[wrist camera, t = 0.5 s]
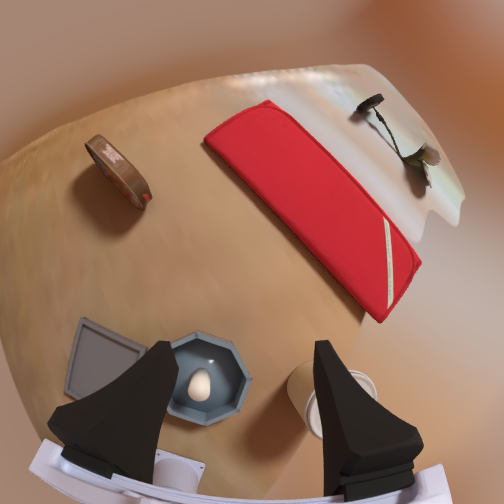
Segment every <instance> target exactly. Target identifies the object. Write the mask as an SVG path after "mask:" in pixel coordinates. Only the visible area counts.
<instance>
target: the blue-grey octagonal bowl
mask: <svg viewBox="0 0 504 504" xmlns="http://www.w3.org/2000/svg"><path fill="white" fill-rule="evenodd" d="M170 344H171V347H172V350H173V353H174V356H175V358H176V361H177V364H178V367H179V372H178V377H177V381H176V385H175V388H174V391H173V394H172V397H171V399H170V402H169V405H168V407H167V411H168V413H169V414H170V415H173V416H176V417H179V418H182V419H185V420H188V421H191V422H194V423H197V424H200V425H204V426H208V425H210V424H213V423H215V422H217V421H220V420H222V419H225V418H227V417H229V416H232V415H234V414H236V413H238V412H240V410H241V407H242V404H243V402H244V399H245V396H246V394H247V391H248V388H249V386H250V383H251V380H252V377H251V376H250V374H249V372H248V371H247V369H246V367H245V365H244V363H243V361H242V360H241V358H240V356H239V354H238V352H237V350H236V348H235V345H234V343H233V342H231V341H228V340H225V339H222V338H219V337H217V336H214V335H211V334H208V333H205V332H202V331H200V330H197V331H195V332H193V333H190V334H188V335H186V336H184V337H182V338H179V339H177V340H175V341H173V342H170ZM197 368H206V369H207V370H208V371H209V372H210V375H211V379H210V395H209V397H208V398H207V399H206V400H204V401H195V400H193V399H192V398H191V397H190V396H189V394H188V388H189V385H190V382H191V378H192V375H193V372H194V371H195V370H196V369H197Z"/></svg>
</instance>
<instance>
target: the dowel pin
mask: <svg viewBox="0 0 504 504" xmlns="http://www.w3.org/2000/svg"><path fill="white" fill-rule="evenodd" d="M210 379H211V375H210V372H209V371H208V370H207V369H206V368H197V369H196V370H195V371H194V372H193V375H192V378H191V382H190V385H189V388H188V394H189V396H190V397H191V398H192V399H193V400H195V401H204V400H206V399H207V398H208V397H209V395H210Z"/></svg>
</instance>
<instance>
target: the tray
mask: <svg viewBox="0 0 504 504" xmlns="http://www.w3.org/2000/svg"><path fill="white" fill-rule="evenodd" d="M147 349H148V347H146V346H144V345H141V344H139V343H137V342H134V341H132V340H130V339H128V338H126V337H123V336H121V335H119V334H117V333H115V332H113V331H111V330H109V329H107V328H105V327H103V326H101V325H99V324H97V323H95V322H93V321H91V320H89V319H87V318H85V317H83V318H80V320H79V324H78V328H77V332H76V335H75V339H74V343H73V348H72V352H71V356H70V361H69V366H68V371H67V376H66V381H65V387H64V392H66V393H67V394H69V395H70V396H72V397H74V398H76V399H77V400H79V399H82V398H84V397H86V396H88V395H90V394H92V393H94V392H96V391H98V390H99V389H101V388H103V387H105V386H106V385H108V384H109V383H111V382H112V381H113V380H115V379H116V378H118V377H119V376H120V375H121V374H123V373H124V372H125V371H126V370H127V369H129V368H130V367H131V366H132V365H133V364H134V363H136V362H137V361H138V360H139V359H140V358H141V357H142V356H143V355H144V354H145V353H146V352H147Z"/></svg>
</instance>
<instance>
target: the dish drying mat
mask: <svg viewBox="0 0 504 504" xmlns="http://www.w3.org/2000/svg"><path fill="white" fill-rule="evenodd" d="M204 142H205V143H207V144H208V145H209V146H210V147H211V148H212V149H213V150H214V151H215V152H216V153H217V154H218V155H219V156H220V157H221V158H223V159H224V160H225V161H226V163H227V164H228V165H229V166H230V167H231V168H232V169H233V170H234V171H235V172H236V173H237V174H238V175H239V176H240V177H241V178H242V179H243V180H244V181H245V182H246V183H247V184H248V186H249V187H250V188H251V189H252V190H253V191H254V192H255V193H256V194H257V195H258V196H259V197H260V198H261V199H262V200H263V201H264V202H265V203H266V204H267V205H268V206H269V207H270V208H271V209H272V210H273V211H274V212H275V213H276V214H277V215H278V216H279V217H280V219H281V220H282V221H283V222H284V223H285V224H286V225H287V226H288V227H289V228H290V229H291V230H292V231H293V232H294V233H295V234H296V235H297V236H298V238H299V239H300V240H301V241H302V242H303V243H304V244H305V245H306V247H307V248H308V249H309V250H310V251H311V252H312V253H313V254H314V255H315V256H316V258H317V259H318V260H319V261H320V262H321V263H322V264H323V265H324V266H325V267H326V268H327V269H328V271H329V272H330V273H331V274H332V275H333V276H334V277H335V278H336V279H337V280H338V281H339V282H340V283H341V285H342V286H343V287H344V288H345V289H346V290H347V291H348V292H349V293H350V294H351V295H352V296H353V297H354V298H355V299H356V300H357V302H358V303H359V304H360V305H361V306H362V307H363V308H364V309H365V310H366V311H367V313H368V314H369V315H370V316H371V317H372V318H374V319H375V320H376V321H377V322H378V323H382V322H383V321H384V320H385V319H386V318H387V316H388V315H389V313H390V312H391V311H392V309H393V308H394V307H395V305H396V304H397V302H398V301H399V300H400V298H401V297H402V296H403V294H404V293H405V291H406V290H407V288H408V286H409V284H410V283H411V281H412V279H413V276H414V274H415V273H416V271H417V270H418V268H419V267H420V266H421V264H422V261H421V260H420V258H419V257H418V255H417V254H416V252H415V251H414V249H413V248H412V247H411V245H410V244H409V243H408V241H407V240H406V239H405V237H404V236H403V234H402V233H401V232H400V230H399V229H398V228H397V227H396V225H395V224H394V223H393V222H392V221H391V219H390V218H389V217H388V216H387V215H386V213H385V212H384V211H383V210H382V209H381V208H380V206H379V205H378V204H377V203H376V202H375V201H374V199H373V198H372V197H371V196H370V195H369V194H368V193H367V191H366V190H365V189H364V188H363V187H362V186H361V184H360V183H359V182H358V181H357V180H356V179H355V178H354V177H353V176H352V175H351V174H350V173H349V172H348V171H347V170H346V169H345V168H344V167H343V166H342V165H341V164H340V163H339V162H338V161H337V160H336V159H335V158H334V157H333V156H332V155H331V154H330V153H329V152H328V151H327V150H326V149H325V148H324V147H323V146H322V145H321V144H320V143H319V142H318V141H317V140H316V139H315V138H314V137H313V136H312V135H311V134H310V133H308V132H307V131H306V130H305V129H304V128H303V127H302V126H301V125H300V124H299V123H298V122H297V121H296V120H295V119H294V118H293V117H292V116H291V115H289V114H288V113H287V112H285V111H283V110H282V109H280V108H279V107H278V106H277V105H275V104H274V103H273V102H271V101H270V100H266V101H264V102H262V103H261V104H259V105H257V106H253V107H250V108H247V109H245V110H243V111H242V112H240V113H238V114H236V115H234V116H233V117H231V118H230V119H228V120H227V121H225V122H223V123H222V124H221V125H219V126H218V127H216V128H215V129H214V130H213V131H211V132H210V133H209V134H208V135H206V136H205V137H204Z"/></svg>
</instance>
